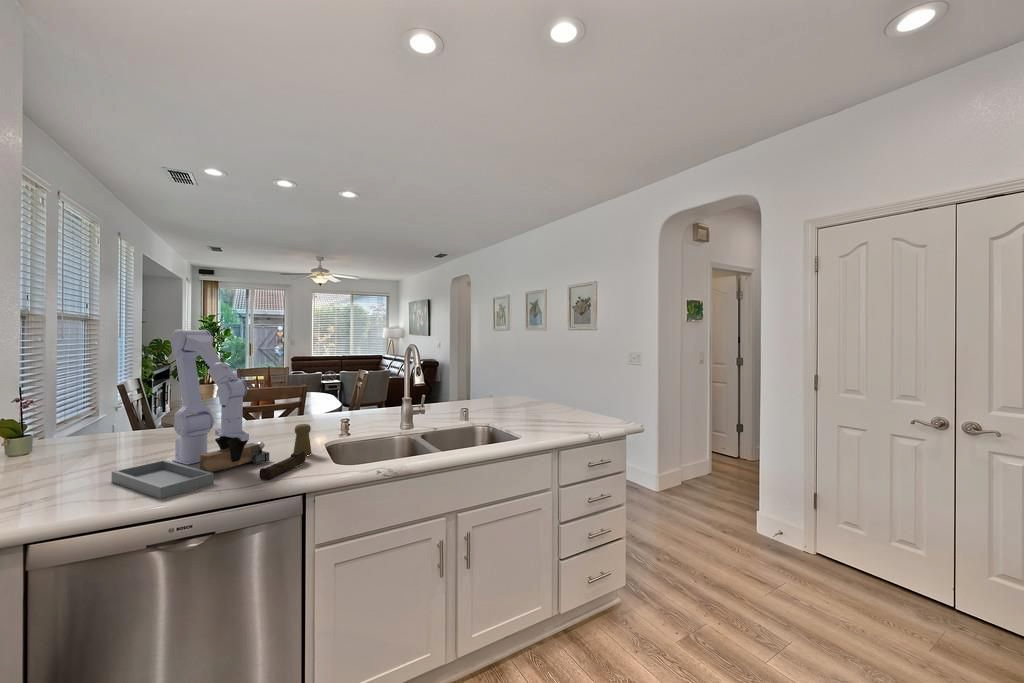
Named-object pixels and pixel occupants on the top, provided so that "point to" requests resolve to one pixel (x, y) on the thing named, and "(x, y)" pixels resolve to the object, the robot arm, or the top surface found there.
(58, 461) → the top surface
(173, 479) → the tray
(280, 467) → the hand tool
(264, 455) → the stud bracket
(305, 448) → the olive bottle
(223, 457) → the strut
